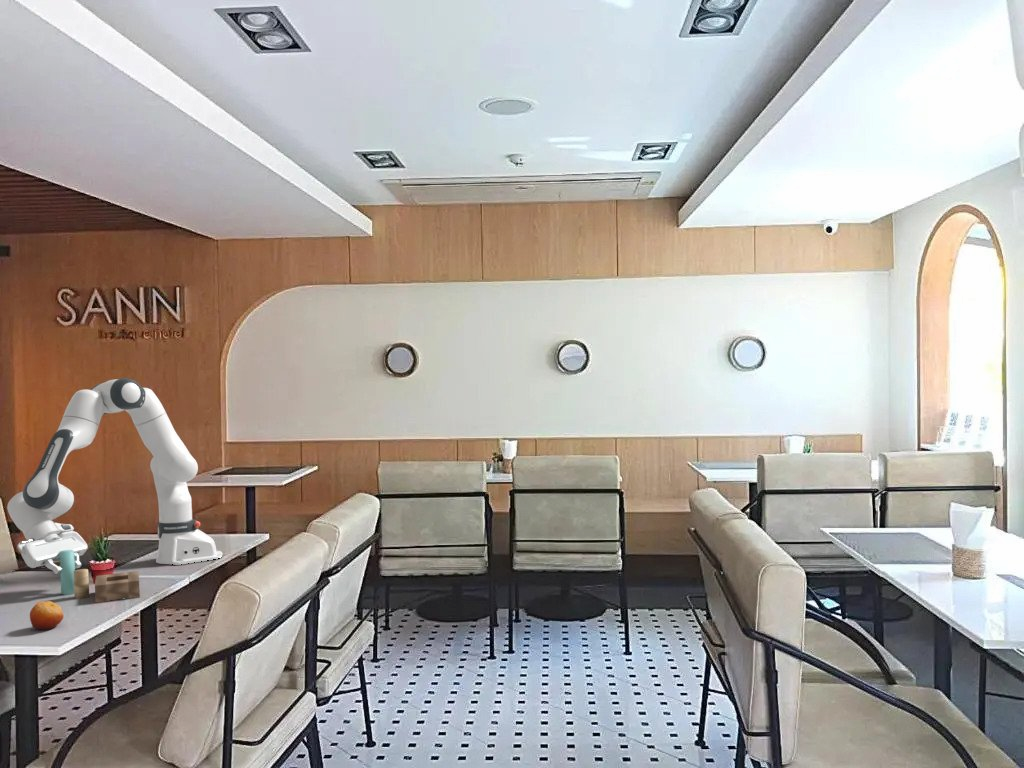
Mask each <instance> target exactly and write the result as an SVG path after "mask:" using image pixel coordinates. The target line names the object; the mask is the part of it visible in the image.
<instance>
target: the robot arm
mask: <svg viewBox="0 0 1024 768" xmlns="http://www.w3.org/2000/svg"><path fill="white" fill-rule="evenodd" d="M123 411H125V412H126V413H127V414H128V415H129V416H130V417H131V420H132V422H133V425H134V427H135V428H136V431H137V433H138V435H139V437H140V438H141V441H142V442H143V444H144V446H145V447H146V449H147V450H148V451H149V452H150V453H151V455H152V456H153V457H152V458H151V460H150V463H149V464H150V465H149V466H150V471H151V473H152V476H153V480H154V486H155V491H156V495H157V501H158V523H157V536H158V549H157V555H156V559H155V563H156V564H160V565H172V564H173V566H181V564H182V565H187V564H188V563H189V564H195V563H201V561H202V562H208V561H207V560H209V561H214V560H213V559H216V560H219V559H218V558H220V559H222V558H223V557H222V555H223V554H224V553H223V552H222V551H221V550H218V549H217V547H216V542H215V540H214V539H213V538H212V537H211V536H210V535H208V534H207V533H205V532H203V531H202V530H201V529H199V528H200V527H201V522H200V521H198V520H197V519H194V518H193V507H192V506H193V505H192V501H193V500H192V496H191V494H190V492H189V487H188V484H187V482H189V481H192V480H194V478H195V477H196V476H197V474H198V471H199V467H198V466H199V465H198V462H197V460H196V459H195V458H194V457H193V455H192V454H191V452H190V451H189V450H188V448H187V447H186V445H185V444H184V442H183V441H182V440H181V438H180V436H179V434H177V431H176V430H175V429H174V426H173V424H172V422H171V420H170V418H169V416H168V414H167V412H166V410H165V408H164V406H163V404H162V402H161V401H160V399H159V398H158V396H157V395H156V394H155V392H154V391H153V390H152V389H151V388H149V387H142V385H141V384H140V383H138V381H136V380H134V379H133V378H127V377H122V378H118V379H110V380H109V379H108V380H107V381H105V382H102V383H98V384H96V385H93V387H92V388H91V389H88V388H87V389H80V390H78V391H76V392H75V393H74V394H73V396H72V397H71V399H70V401H69V402H68V404H67V406H66V408H65V410H64V414H63V415H62V417H61V421H60V424H59V426H58V428H57V430H56V432H55V433H54V434H53V436H52V437H51V439H50V441H49V442H48V445H47V446H46V449H45V451H44V453H43V456H42V458H41V459H40V462H39V464H38V465H37V468H36V470H35V472H33V474H32V476H31V477H30V478H29V479H28V481H26V483H25V485H24V487H23V490H22V491H20V492H18V493H15V495H13V496H12V497H11V498H10V499H9V501H8V503H7V506H6V507H7V513H8V514H9V516H10V519H11V520H12V522H13V523H14V525H15V526H16V527H17V529H18V530H20V531H21V532H22V534H23V536H24V538H25V540H21V541H19V542H18V543H17V547H16V548H17V550H18V551H19V552H20V554H21V557H22V559H23V560H24V563H25V564H26V565H27V567H29V568H31V569H34V568H35V569H36V567H39V566H43V565H45V566H46V567H47V568H46V569H49V570H50V571H52V572H53V573H54V574H55V575H57V574H60V573H61V571H62V568H61V567H60V565H59V566H57V565H55V564H54V562H58V561H60V551H64V550H74V561H75V570H77V569H80V568H81V567H82V562H81V561H80V557H81V556H83V555H84V554H85V553H86V551H87V550H88V549H89V546H88V544H87V542H86V541H85V540H84V538H83V537H82V536H81V535H80V534H79V533H78V532H77V531H74V529H75V528H74V526H73V525H72V524H68V523H59V522H54V520H56V519H58V518H60V517H61V516H62V515H65V514H66V513H68V512H69V511H70V510H71V509H72V507H73V506H74V503H75V495H74V493H73V491H72V490H71V489H70V488H68V487H67V486H65V485H63V484H61V483H60V482H59V475H60V473H61V470H62V467H63V465H64V464H65V461H66V459H67V457H68V455H69V454H70V453H71V452H73V451H74V450H80V449H81V450H82V449H83V448H84V449H85V448H86V447H87V446H89V445H91V444H92V442H93V441H94V439H95V438H96V435H97V432H98V430H99V427H100V422H101V420H102V418H103V416H104V415H108V414H115V413H116V414H117V413H121V412H123ZM221 557H222V558H221ZM194 562H195V563H194Z"/></svg>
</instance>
